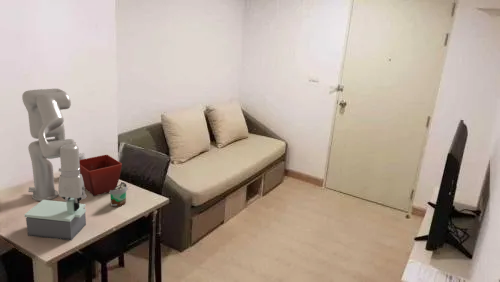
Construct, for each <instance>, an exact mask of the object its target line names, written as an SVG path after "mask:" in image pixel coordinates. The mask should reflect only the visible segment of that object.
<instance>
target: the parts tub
mask: <svg viewBox="0 0 500 282" xmlns="http://www.w3.org/2000/svg"><path fill="white" fill-rule="evenodd" d="M84 209H86V207H85V208H84ZM25 222H26V231H27V236H28V237H35V238H45V239H54V240H55V239H56V240H64V241H72V240H74V238H76V236H77V235H78V234H79V233H80V232H81V231H82V230H83V229H84V228H85V226H86V225H87V218H86V212H85V213H84V214H83V215H82V216H81V217H80V218H79V217H74V218H73V219H72V220H71V221H70V222H67V221H58V220H48V219H39V218H30V217H25Z"/></svg>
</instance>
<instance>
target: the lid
mask: <svg viewBox="0 0 500 282" xmlns="http://www.w3.org/2000/svg"><path fill="white" fill-rule="evenodd" d="M74 203H75V199H74V198H71V199H69V200H68V201H67V202H65V201H59V200H58V201H57V200H52V199H51V200H42V201H39V202H38V203H36V205H34V206H33V207H32V208H30V209H29V210H28V211H27V212H26V213H24V214H23V215H24V218H27V217H30V218H39V219H48V220H58V221H67V222H70V221H71V220H72V219H73V218H74V217H79V218H80V217H81V216H82V215H83V214H84V213H85V214H86V212H87V209H86V206H87V205H86V203H79V206H80V207H79V209H78V210H77V211H74ZM84 208H85V209H84Z"/></svg>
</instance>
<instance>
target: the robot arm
mask: <svg viewBox="0 0 500 282" xmlns="http://www.w3.org/2000/svg"><path fill="white" fill-rule="evenodd" d="M21 96H22V97H21V98H22V99H21V100H22V104H23V105H24V107H25V109H26V111H27V114H28V115H27V116H28V124H29V133H30V137H32V138H33V139H36V140H34V141H32V142H30V143H29V144H28V147H27V149H28V153H29V157H30V161H31V167H32V168H31V169H32V174H33V175H32V177H33V185H34V186H29V187H28V193H32V194H31V198H32V200H34V201H37V202H38V201H39V202H41V201H42V200H51V201H52V200H54V199H56V198H57V197H58V196H59V197H60V198H62V199H63V200H64V202H67V201H68V200H69V199H71V198H74V199H75V203H74V211H77V210H78V209H79V207H80V206H79V204H80V201H82V200H85V199H86V198H87V197H88V196H87V194H86V191H85V190H86V189H85V188H84V181H83V177H82V174H80V162H79V154H80V150H79V146H78V144H77V142H76V141H75V140H74V139H72V138H67V139H66V131H65V130H66V129H65V126H64V121H65V119H64V116H63V113H62V112H61V110H69V109H70V108H71V106H72V101H71V98H70V96H69V94H68V93H67V92H66V91H65V90H63V89H60V88H44V89H43V88H41V89H40V88H39V89H28V90H25V91H24V92H23V93H22V95H21ZM58 158H60V159H59V160H60V168H58V172H60V174H59V179H58V190H56V188H55V178H54V168H53V167H54V166H53V164H52V161H50V160H52V159H58Z"/></svg>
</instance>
